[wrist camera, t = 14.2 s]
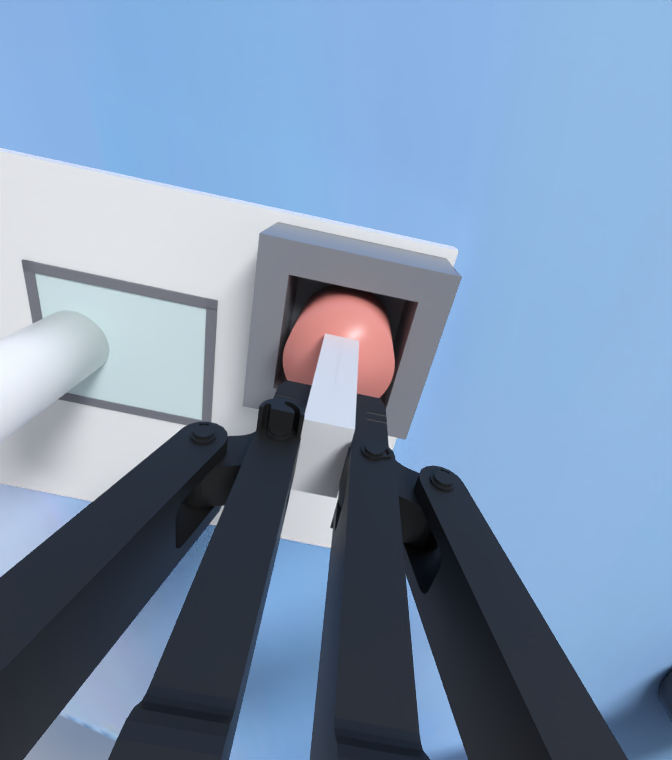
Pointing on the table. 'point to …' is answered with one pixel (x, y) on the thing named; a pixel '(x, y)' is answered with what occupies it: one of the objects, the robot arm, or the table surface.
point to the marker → (46, 365)
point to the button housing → (358, 271)
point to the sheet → (141, 318)
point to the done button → (345, 319)
